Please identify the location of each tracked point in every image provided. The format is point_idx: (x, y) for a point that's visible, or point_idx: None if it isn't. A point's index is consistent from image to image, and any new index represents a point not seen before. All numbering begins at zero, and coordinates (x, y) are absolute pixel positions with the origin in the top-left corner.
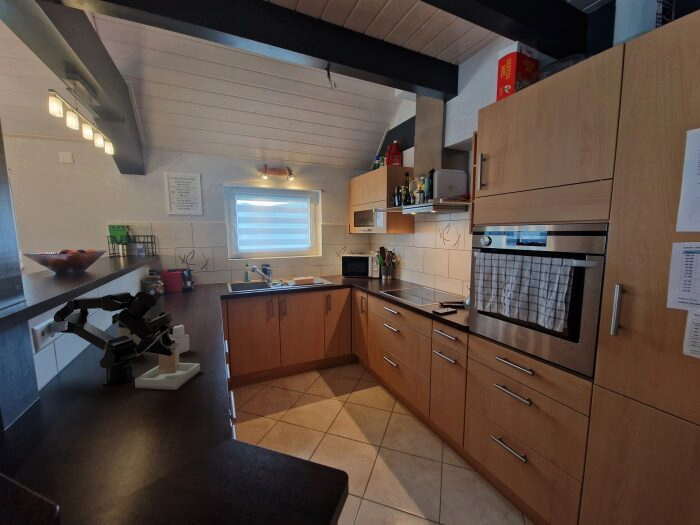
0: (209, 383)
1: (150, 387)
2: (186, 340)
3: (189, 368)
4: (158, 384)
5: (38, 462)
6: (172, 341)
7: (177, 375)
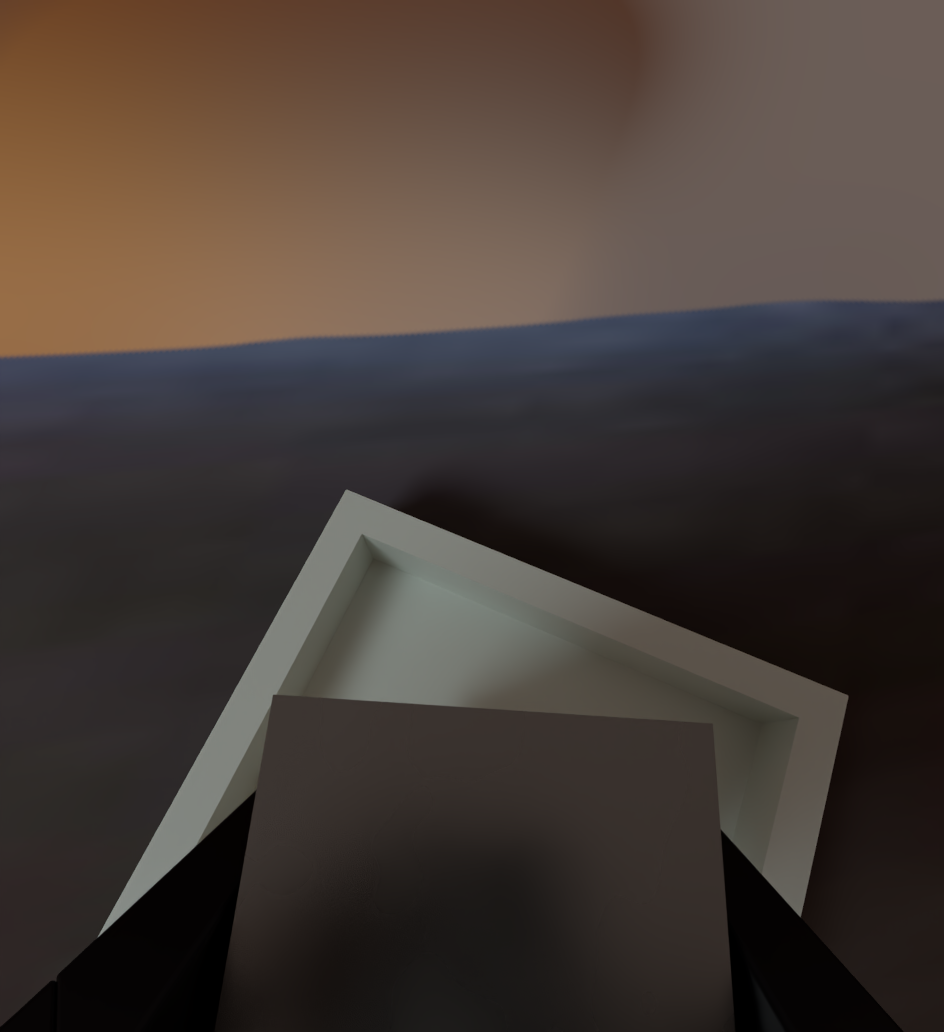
0: (701, 413)
1: None
2: None
3: (331, 628)
4: None
5: None
6: (102, 938)
7: None
